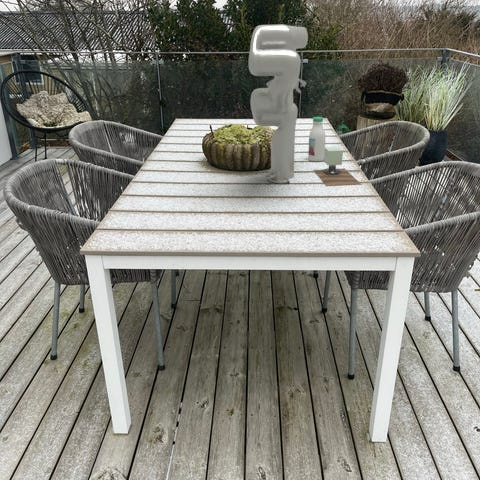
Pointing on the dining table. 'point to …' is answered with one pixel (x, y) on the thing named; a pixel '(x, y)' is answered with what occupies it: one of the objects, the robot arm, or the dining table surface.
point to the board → (336, 176)
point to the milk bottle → (317, 140)
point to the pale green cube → (333, 156)
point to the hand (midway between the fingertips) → (286, 102)
